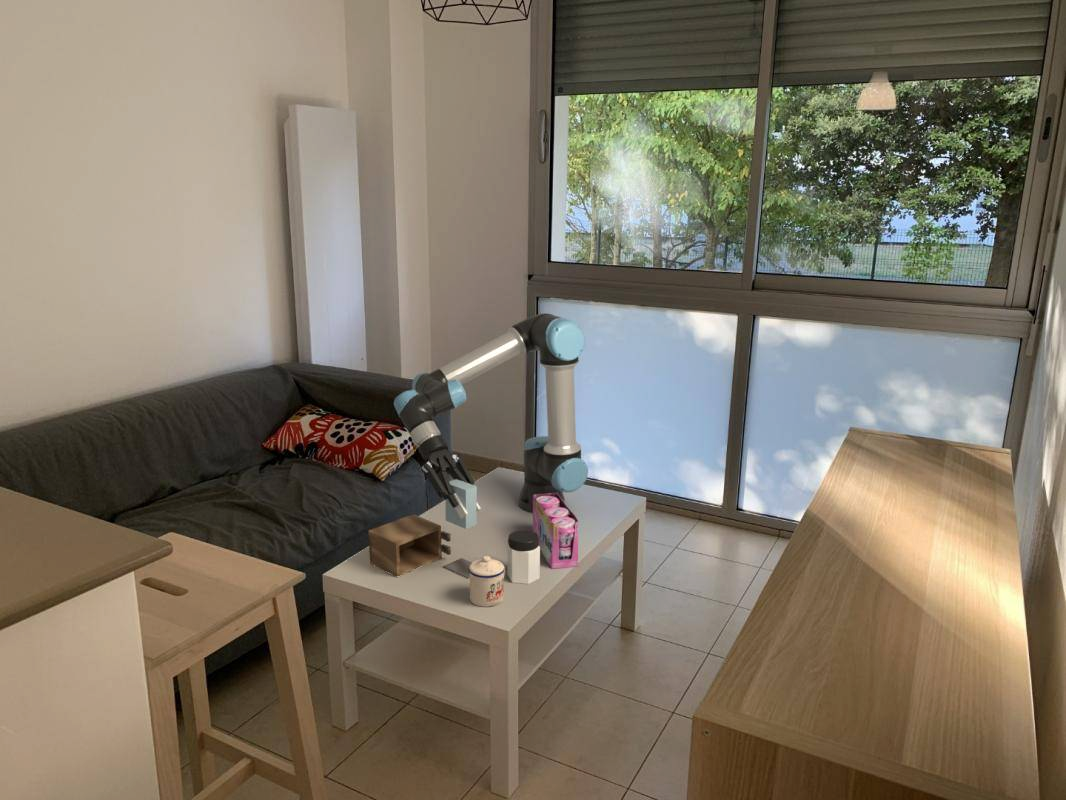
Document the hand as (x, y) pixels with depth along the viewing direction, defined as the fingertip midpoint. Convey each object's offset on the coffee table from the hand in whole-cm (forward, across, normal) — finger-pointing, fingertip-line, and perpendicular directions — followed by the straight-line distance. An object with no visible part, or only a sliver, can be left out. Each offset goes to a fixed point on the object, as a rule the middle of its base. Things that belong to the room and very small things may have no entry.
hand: (470, 513), depth 220 cm
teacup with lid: (+22, +6, -3) cm, 23 cm away
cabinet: (+4, +5, -21) cm, 22 cm away
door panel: (0, 0, -5) cm, 5 cm away
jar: (+21, -8, -4) cm, 23 cm away
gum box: (+17, -27, -7) cm, 33 cm away
